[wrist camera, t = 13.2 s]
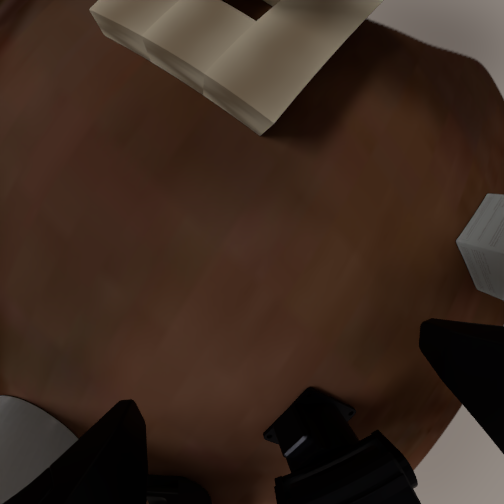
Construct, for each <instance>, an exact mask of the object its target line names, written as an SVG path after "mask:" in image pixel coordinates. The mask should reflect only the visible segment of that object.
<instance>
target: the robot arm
mask: <svg viewBox="0 0 504 504" xmlns="http://www.w3.org/2000/svg"><path fill="white" fill-rule="evenodd" d="M419 347H420V350H421V352H422V353H423V354H424V356H425V357H426V359H427V360H428V361H429V363H430V364H431V366H432V367H433V368H434V370H435V371H436V373H437V374H438V375H439V377H440V378H441V380H442V381H443V382H444V383H445V385H446V386H447V387H448V388H449V389H450V390H451V391H452V393H453V394H454V395H455V396H456V397H457V398H458V400H459V401H460V402H461V403H462V404H463V405H464V407H465V408H466V409H467V410H468V411H469V412H470V414H471V415H472V416H473V417H474V418H475V420H476V421H477V422H478V423H479V424H480V426H481V427H482V428H483V429H484V430H485V432H486V433H487V434H488V435H489V436H490V438H491V439H492V440H493V441H494V443H495V444H496V445H497V446H498V448H499V449H500V450H501V451H502V453H503V454H504V326H495V325H485V324H476V323H467V322H459V321H450V320H442V319H434V318H431V319H429V320H426V321H424V322H422V324H421V326H420V338H419ZM309 393H311V394H309ZM308 394H309V395H308ZM355 413H356V410H355V409H354V408H353V407H351V406H349V405H347V404H345V403H343V402H340V401H338V400H336V399H334V398H332V397H330V396H328V395H325V394H323V393H321V392H319V391H317V390H315V389H313V388H307V389H306V390H304V392H303V393H302V394H301V395H300V396H299V397H298V398H297V399H296V400H295V401H294V402H293V403H292V404H291V405H290V407H289V408H288V409H287V410H286V411H285V412H284V413H283V414H282V415H281V416H280V417H279V418H278V419H277V420H276V421H275V422H274V423H273V424H272V425H271V426H270V427H269V428H268V429H267V430H266V431H265V432H264V433H263V436H264V439H265V440H268V441H270V442H273V443H276V444H279V445H280V448H281V451H282V454H283V456H284V457H286V460H287V463H288V465H289V468H290V471H291V473H290V474H288V475H285V476H283V477H282V476H280V477H277V478H275V484H276V486H274V488H275V494H276V500H277V504H421V503H420V501H419V499H418V497H417V496H416V493H415V492H414V490H413V488H415V487H416V486H417V485H418V483H417V479H416V476H415V474H414V471H413V469H412V468H411V466H410V464H409V462H408V461H407V460H406V458H405V457H404V456H403V454H402V453H401V452H400V451H399V450H398V449H397V448H396V447H395V446H394V445H393V444H392V443H391V442H390V441H389V440H388V439H387V438H386V437H385V436H384V435H383V434H382V433H381V432H380V431H379V430H376V431H374V432H373V433H372V434H371V435H369V436H368V437H366V438H364V439H362V440H360V441H359V439H358V438H357V436H356V435H355V433H354V432H353V430H352V429H351V427H350V426H349V424H348V423H347V422H348V421H349V420H350V419H351V418H352V417H353V416H354V414H355ZM268 435H269V436H268ZM147 478H148V461H147V444H146V425H145V421H144V419H143V417H142V415H141V413H140V411H139V409H138V407H137V405H136V403H135V401H134V400H132V399H129V400H121V401H119V402H118V403H117V404H116V405H115V406H114V407H112V408H111V409H110V410H109V411H108V412H107V413H106V414H105V415H104V416H103V417H102V418H101V419H100V420H99V421H98V422H97V423H95V424H94V425H93V426H92V427H91V428H90V429H89V430H88V431H87V432H86V433H85V434H84V435H83V436H81V437H80V438H79V439H78V440H77V441H76V442H75V443H74V444H73V445H72V446H71V447H70V448H69V449H67V450H66V451H65V452H64V453H63V454H62V455H61V456H60V457H59V458H58V459H57V460H55V461H54V462H53V463H52V464H51V465H50V468H49V467H48V468H47V469H46V470H44V471H43V472H42V473H41V474H40V475H39V476H38V477H37V478H35V479H34V480H33V481H32V482H31V483H30V484H28V485H27V486H26V487H24V488H23V489H22V490H20V491H19V492H18V493H16V494H15V495H14V496H12V497H11V498H9V499H8V500H7V501H5V502H4V503H2V504H146V500H147Z"/></svg>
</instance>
